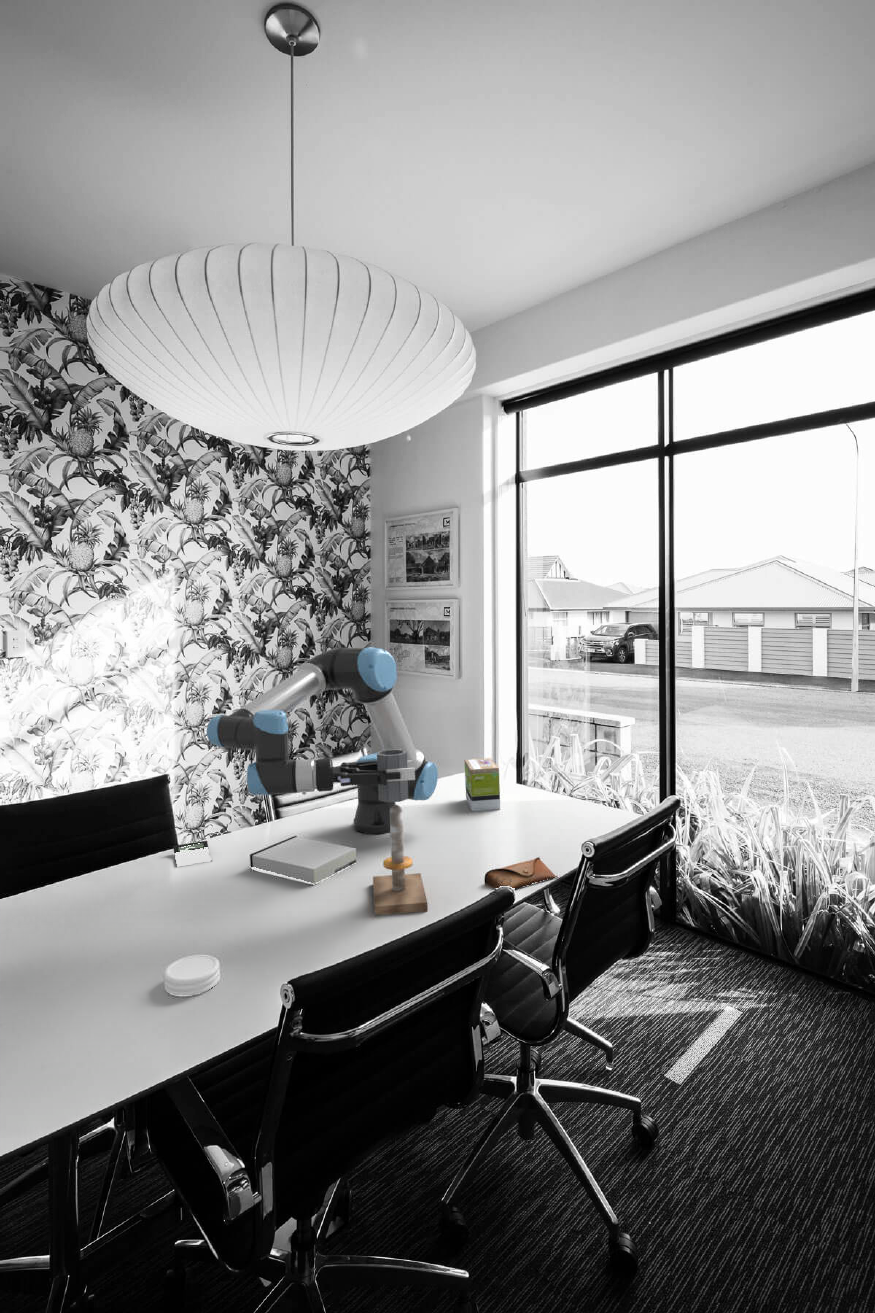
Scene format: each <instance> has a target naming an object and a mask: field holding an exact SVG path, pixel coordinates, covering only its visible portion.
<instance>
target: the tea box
mask: <svg viewBox="0 0 875 1313" xmlns="http://www.w3.org/2000/svg"><path fill="white" fill-rule="evenodd" d="M464 780H465V782H464V783H465V799H466V801H467V803H468V805H469V807H470V809H471V811H472V812H484V811H495V810H498V811H499V810H501V792H500V791H501V790H500V789H501V788H500V787H501V786H500V768H499V767H498V765H497V764H496V763H495V762H494V761H493V759H492V758H491V757H489V758H487V757H485V758H475V759H464Z"/></svg>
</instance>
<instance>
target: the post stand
mask: <svg viewBox="0 0 875 1313" xmlns="http://www.w3.org/2000/svg"><path fill="white" fill-rule="evenodd" d="M403 823H404V820H403V808H402V807H401V806H400V805H398V804H396V805H394V806H392V807H391V808H390V832H389V833H390V853H391V854H390V857H388V858H385V859H384V860H382V861H383V862H382V863H383V868H385V869H386V870H391V875H390V874H389V875H377V876H372V884H373V885H372V887H373V888H374V889H373V903H374V915H375V916H380V915H382V916H383V915H391V914H404V913H405V914H406V913H418V912H428V911H429V910H428V908H429V907H428V906H429V905H428V898H427V895H426V891H425V887H424V883H423V878H422V874H421V873H418V872H417V873H405V870H406V869H409V868H411V867H413V859H412V858H411V857H408V856H405V851H404V850H405V848H404V825H403Z"/></svg>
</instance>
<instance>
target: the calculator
mask: <svg viewBox="0 0 875 1313" xmlns="http://www.w3.org/2000/svg"><path fill="white" fill-rule="evenodd" d="M198 843H200V844H198ZM193 844H194V845H193ZM208 844H209V842H208V840H203V841H202V840H201V841H196V842H188V843H182V844H176V845H173V846H172V847H173V854H174V853H176V852H180V850H185V849H186V848H189V847H195V848H189V849H188V850H195V849H200V848H203V849H204V847H208V848H209V845H208ZM188 845H191V846H188ZM184 846H186V847H184ZM187 846H188V847H187ZM181 847H184V848H181Z"/></svg>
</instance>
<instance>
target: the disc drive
mask: <svg viewBox="0 0 875 1313" xmlns="http://www.w3.org/2000/svg"><path fill="white" fill-rule="evenodd" d="M354 863H358V862H357V848H354V847H351V846H345V845H339V844H335V843H329V842H325V841H318V840H313V839H309V838H303V837H298V836H297V835H294V836H291V837H289V838H286V839H285V840H282V841H279V842H276V843H274V844H271V845H270V846H267V847H265V848H262V849H260V850H258V851H255V852H253V853H250V854H249V865H250V866H251V867H256V868H259V869H263V870H266V871H271V872H275V873H277V874H282V875H285V876H288V877H293V878H296V879H301V880H304V881H307V882H311V883H314V884H315V883H316V882H319V881H321V880H322V879H325V878H326V877H329V876H331V875H332V874H335V873H337V872H338V871H341V870H342V869H345V868H346V867H348V866H351V865H352V864H354ZM351 867H352V866H351ZM345 870H346V869H345Z"/></svg>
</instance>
